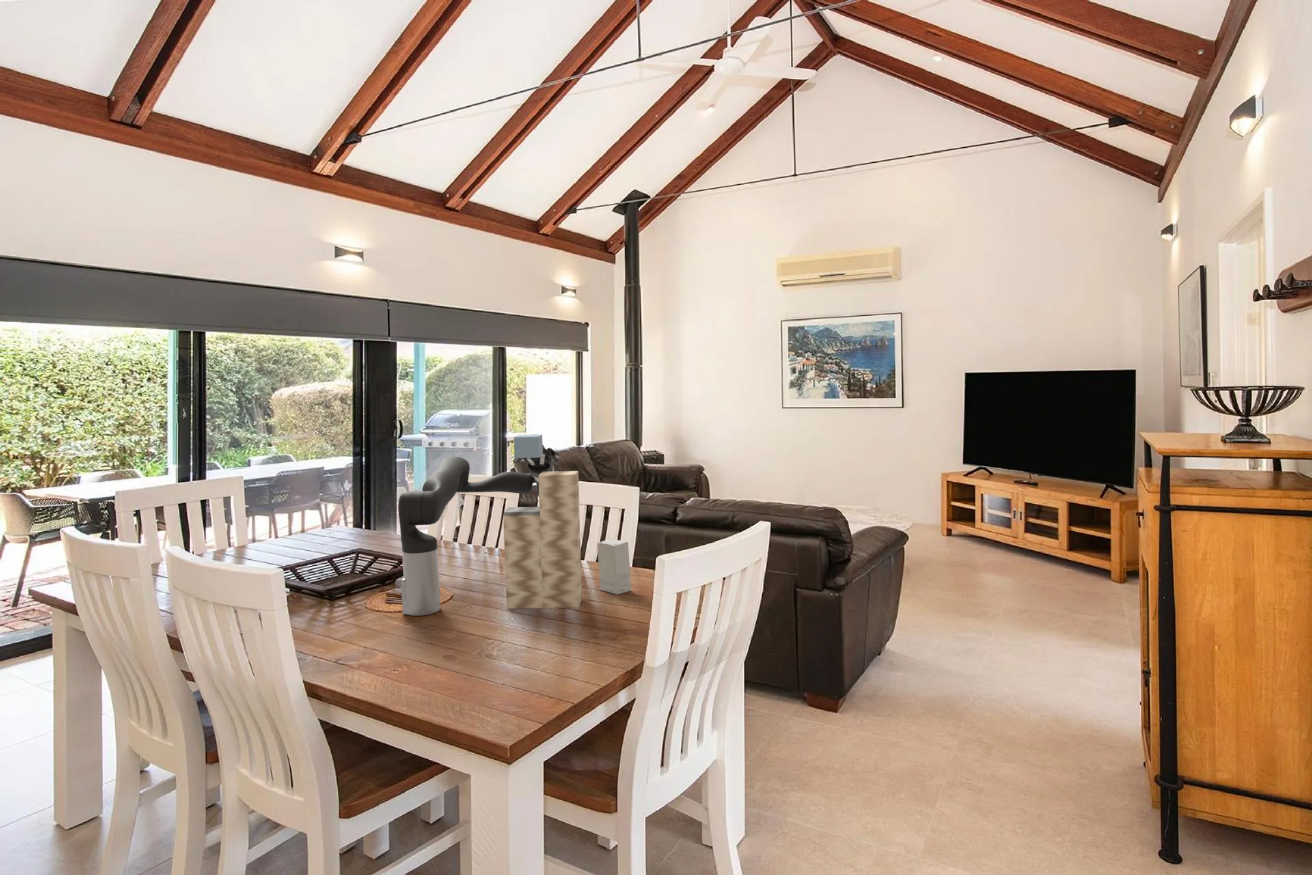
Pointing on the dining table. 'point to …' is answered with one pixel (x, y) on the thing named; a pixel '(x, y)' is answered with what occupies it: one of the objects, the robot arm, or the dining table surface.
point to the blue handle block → (528, 446)
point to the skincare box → (614, 566)
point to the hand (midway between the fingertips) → (532, 445)
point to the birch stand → (545, 546)
